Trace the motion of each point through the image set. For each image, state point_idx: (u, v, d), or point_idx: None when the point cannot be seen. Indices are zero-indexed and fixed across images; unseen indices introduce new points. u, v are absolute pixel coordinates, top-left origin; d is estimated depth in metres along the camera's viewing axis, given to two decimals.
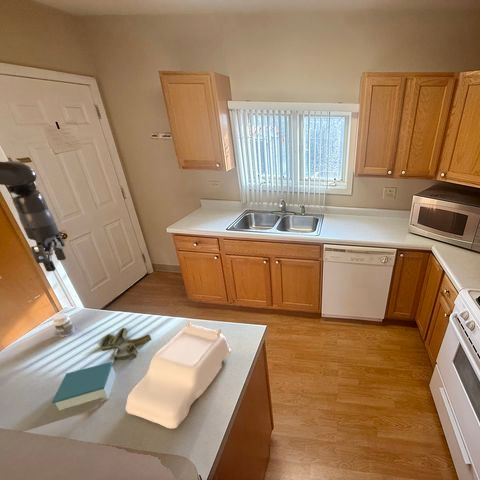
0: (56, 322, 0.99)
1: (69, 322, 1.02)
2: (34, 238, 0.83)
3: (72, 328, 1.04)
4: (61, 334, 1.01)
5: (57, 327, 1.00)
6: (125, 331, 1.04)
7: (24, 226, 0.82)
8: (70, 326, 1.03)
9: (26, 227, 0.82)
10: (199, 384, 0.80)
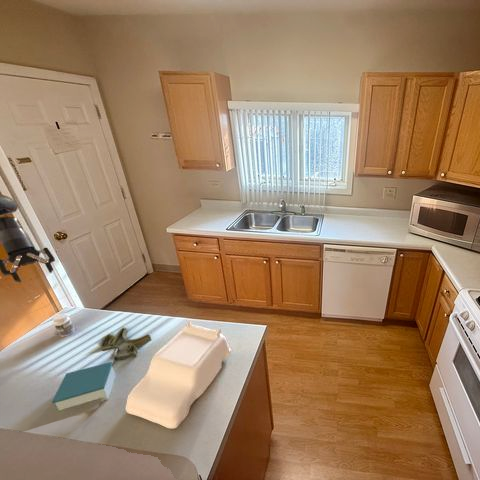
0: (56, 322, 0.99)
1: (69, 322, 1.02)
2: (33, 246, 1.02)
3: (72, 328, 1.04)
4: (61, 334, 1.01)
5: (57, 327, 1.00)
6: (125, 331, 1.04)
7: (25, 236, 1.01)
8: (70, 326, 1.03)
9: (27, 238, 1.01)
10: (199, 384, 0.80)
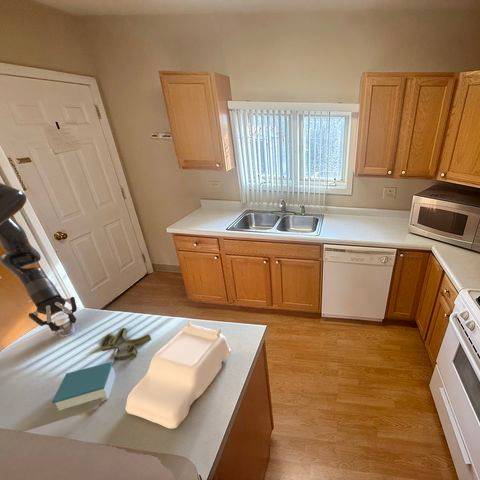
0: (56, 322, 0.99)
1: (69, 322, 1.02)
2: None
3: (72, 328, 1.04)
4: (61, 334, 1.01)
5: (57, 327, 1.00)
6: (125, 331, 1.04)
7: (52, 286, 1.03)
8: (70, 326, 1.03)
9: (53, 287, 1.03)
10: (198, 384, 0.80)
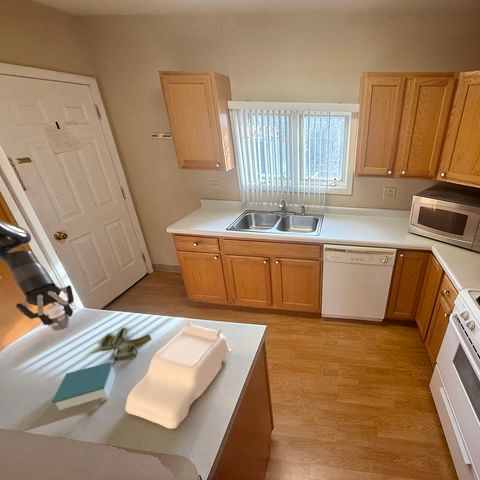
0: (49, 314, 0.84)
1: (64, 315, 0.87)
2: None
3: (68, 322, 0.88)
4: (55, 329, 0.86)
5: (50, 320, 0.84)
6: (125, 331, 1.04)
7: (44, 272, 0.87)
8: (66, 319, 0.87)
9: (46, 273, 0.88)
10: (198, 385, 0.80)
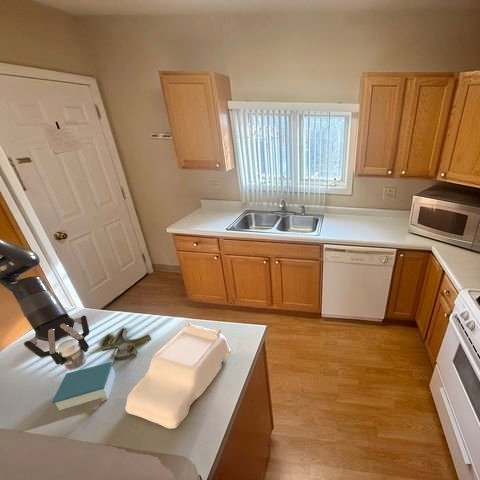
0: (62, 352, 0.72)
1: (79, 351, 0.75)
2: (67, 313, 0.77)
3: (83, 358, 0.77)
4: (69, 368, 0.74)
5: (63, 359, 0.73)
6: (125, 331, 1.04)
7: (56, 301, 0.76)
8: (81, 356, 0.76)
9: (58, 302, 0.76)
10: (198, 385, 0.80)
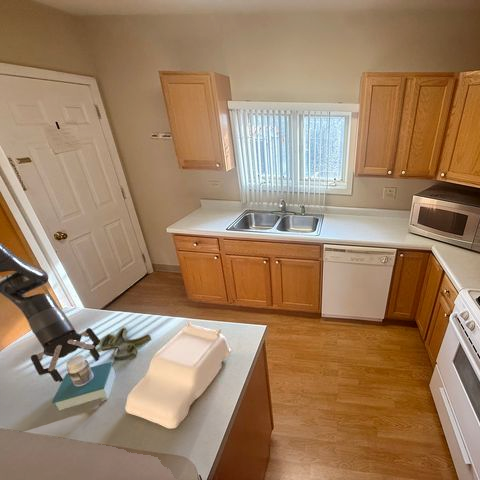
0: (70, 369, 0.75)
1: (87, 367, 0.77)
2: None
3: (90, 374, 0.79)
4: (76, 383, 0.77)
5: (71, 375, 0.75)
6: (125, 331, 1.04)
7: (64, 317, 0.78)
8: (88, 372, 0.78)
9: (66, 319, 0.78)
10: (198, 384, 0.80)
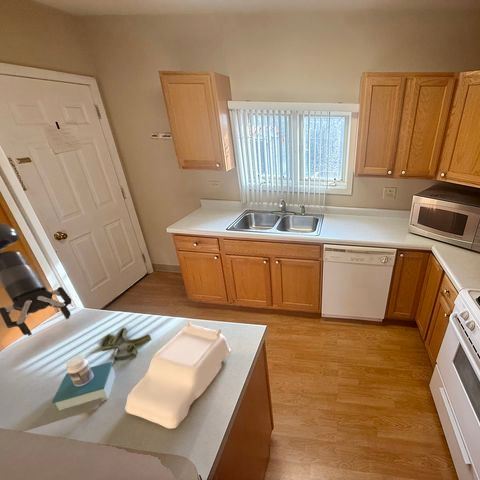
0: (70, 369, 0.75)
1: (87, 367, 0.77)
2: None
3: (90, 374, 0.79)
4: (76, 383, 0.77)
5: (72, 375, 0.75)
6: (125, 331, 1.04)
7: (34, 275, 0.79)
8: (88, 372, 0.78)
9: (36, 276, 0.80)
10: (198, 384, 0.80)
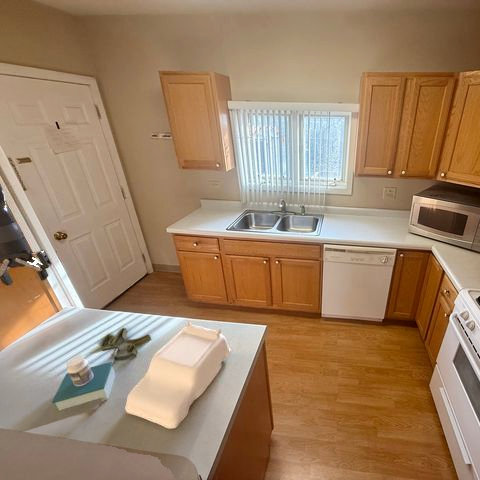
0: (70, 369, 0.75)
1: (87, 367, 0.77)
2: (25, 248, 0.80)
3: (90, 374, 0.79)
4: (77, 383, 0.77)
5: (72, 375, 0.75)
6: (125, 331, 1.04)
7: (13, 238, 0.77)
8: (88, 372, 0.78)
9: (16, 239, 0.78)
10: (198, 385, 0.80)
